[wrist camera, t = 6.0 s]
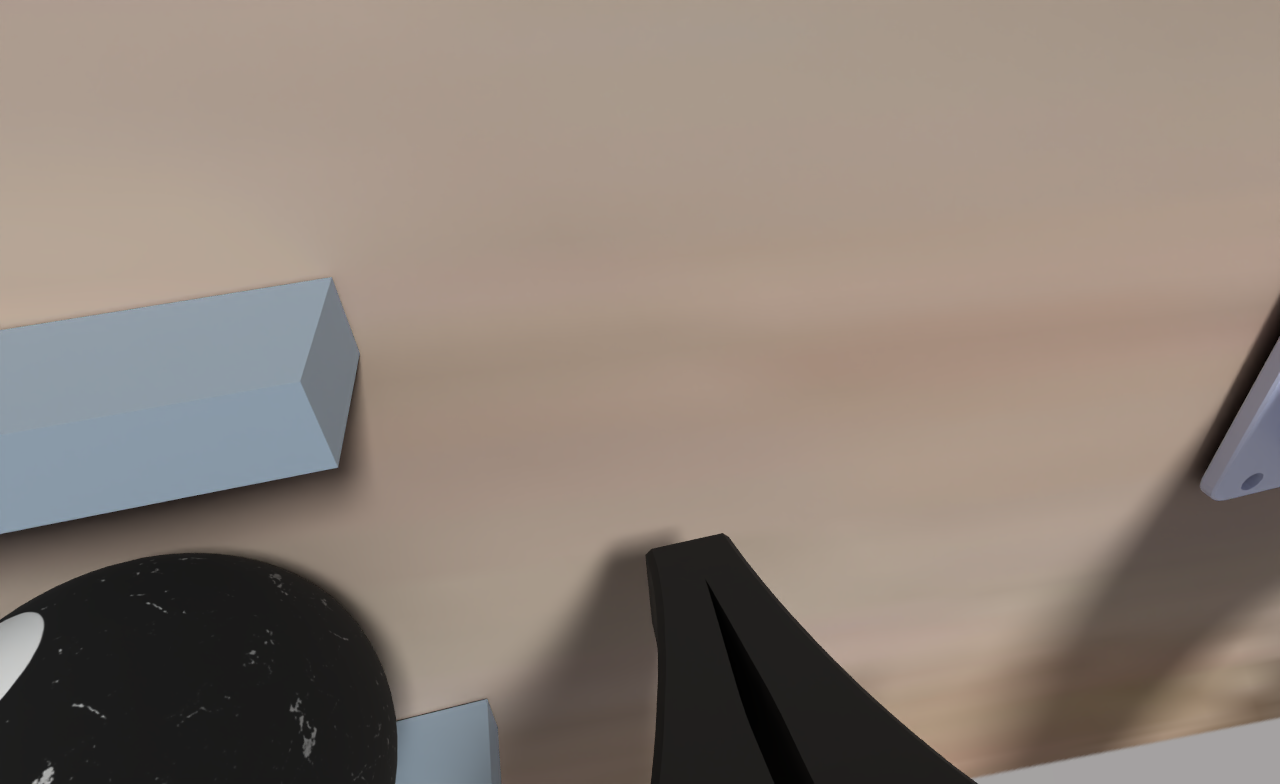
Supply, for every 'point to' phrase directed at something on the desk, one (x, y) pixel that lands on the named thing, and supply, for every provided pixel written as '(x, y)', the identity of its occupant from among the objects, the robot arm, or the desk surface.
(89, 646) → the billiard ball
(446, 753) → the corral
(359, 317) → the desk surface
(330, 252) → the desk surface
